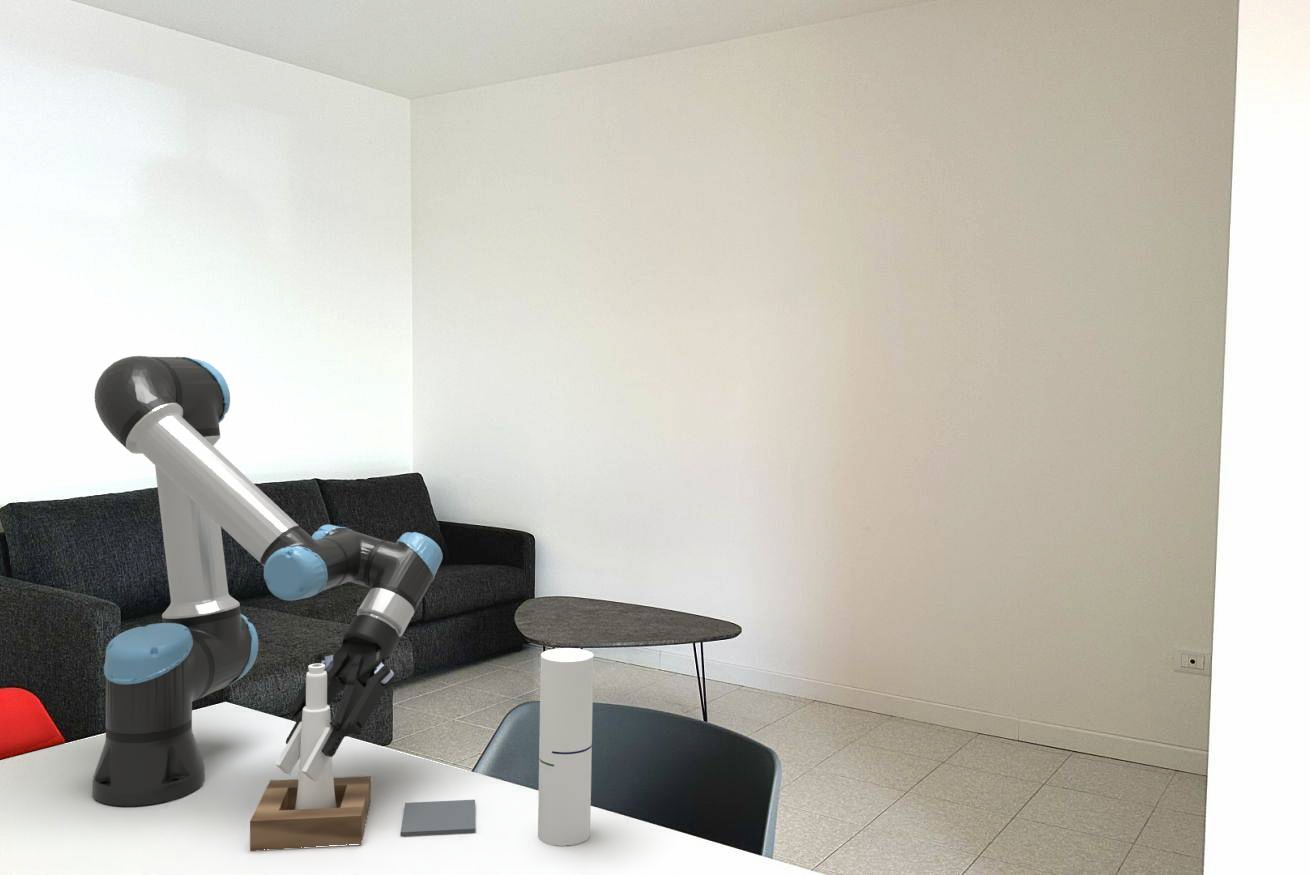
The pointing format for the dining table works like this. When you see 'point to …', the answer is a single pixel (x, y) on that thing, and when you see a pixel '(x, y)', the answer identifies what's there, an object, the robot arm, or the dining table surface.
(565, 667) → the cylindrical container
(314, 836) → the collar
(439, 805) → the mat
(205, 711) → the dining table surface
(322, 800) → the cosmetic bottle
